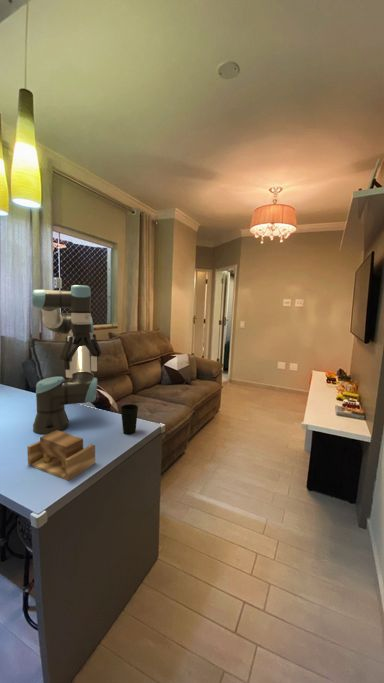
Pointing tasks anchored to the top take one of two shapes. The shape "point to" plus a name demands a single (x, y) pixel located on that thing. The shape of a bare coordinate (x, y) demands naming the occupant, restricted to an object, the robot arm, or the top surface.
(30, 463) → the stand
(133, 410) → the cup
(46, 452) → the brown wooden block
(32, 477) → the top surface
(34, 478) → the top surface
